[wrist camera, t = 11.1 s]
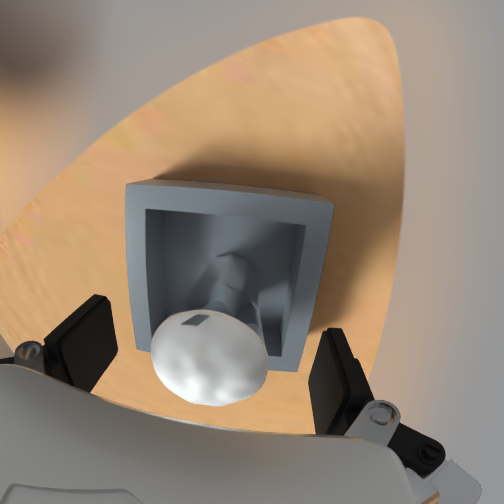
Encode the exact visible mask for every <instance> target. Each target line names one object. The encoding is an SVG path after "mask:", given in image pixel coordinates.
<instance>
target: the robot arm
mask: <svg viewBox="0 0 504 504" xmlns="http://www.w3.org/2000/svg"><path fill="white" fill-rule="evenodd" d="M44 342H45V345H44V346H42V345H41V343H39V342H37V341H26V342H24V343H21V344H20V345H19V346H18V347H17V348H16V350H15V353H14V357H9V358H4V359H0V504H476V503H477V501H478V500H479V498H480V496H481V492H482V488H481V485H480V484H479V482H478V481H477V480H475V479H474V478H473V477H472V476H471V475H469V474H468V473H467V472H466V471H465V470H463V469H462V468H461V467H460V466H458V465H457V464H456V463H455V462H454V461H453V460H449V461H447V460H446V459H445V456H446V455H445V450H444V448H443V446H442V445H441V444H440V443H439V442H437V441H436V440H434V439H432V438H430V437H428V436H425V435H423V434H421V433H419V432H417V431H415V430H413V429H411V428H409V427H407V426H405V425H403V424H401V423H400V418H401V416H400V412H399V410H398V408H397V407H396V406H395V405H393V404H392V403H390V402H388V401H385V400H375V399H374V397H373V394H372V392H371V390H370V387H369V384H368V382H367V379H366V377H365V374H364V372H363V369H362V367H361V364H360V362H359V360H358V359H356V358H354V357H353V354H352V352H351V349H350V347H349V344H348V342H347V339H346V337H345V335H344V332H343V330H342V329H341V328H328V329H327V331H323V332H322V336H321V339H320V343H319V346H318V350H317V353H316V356H315V360H314V363H313V366H312V369H311V373H310V376H309V381H308V385H309V392H310V398H311V404H312V411H313V418H314V425H315V432H316V434H292V433H275V432H262V431H250V430H241V429H233V428H225V427H219V426H212V425H206V424H201V423H195V422H190V421H185V420H180V419H175V418H171V417H167V416H163V415H159V414H155V413H151V412H147V411H143V410H140V409H136V408H133V407H130V406H126V405H123V404H120V403H117V402H114V401H111V400H108V399H105V398H102V397H99V396H97V395H94V394H91V393H90V392H91V391H92V389H93V388H94V386H95V385H96V383H97V382H98V380H99V379H100V377H101V376H102V375H103V373H104V372H105V370H106V369H107V367H108V366H109V365H110V363H111V362H112V360H113V359H114V358H115V356H116V355H117V352H118V346H117V340H116V335H115V329H114V323H113V317H112V310H111V303H110V301H109V300H108V299H107V297H106V296H102V295H97V294H94V295H93V296H92V297H91V298H89V299H88V300H87V301H86V302H85V303H84V304H82V305H81V306H80V307H79V308H78V309H77V310H75V311H74V312H73V313H72V314H71V315H70V316H69V317H67V318H66V319H65V320H64V321H63V322H62V323H61V324H60V325H59V326H57V327H56V328H55V329H54V330H53V331H52V332H51V333H50V334H49V335H48V336H47V337H45V338H44Z"/></svg>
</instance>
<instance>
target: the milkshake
mask: <svg viewBox="0 0 504 504" xmlns="http://www.w3.org/2000/svg"><path fill="white" fill-rule="evenodd" d="M151 357H152V362H153V366H154V369H155V371H156V373H157V375H158V377H159V378H160V380H161V381H162V383H163V384H164V385H165V386H166V387H167V388H168V389H169V390H171V391H172V392H173V393H175V394H176V395H178V396H180V397H181V398H183V399H185V400H186V401H188V402H191V403H195V404H204V405H210V406H224V405H228V404H231V403H234V402H237V401H241V400H244V399H246V398H248V397H250V396H252V395H254V394H255V393H256V392H257V391H258V390H259V389H260V388H261V387H262V385H263V384H264V382H265V379H266V376H267V372H268V365H269V360H268V354H267V349H266V343H265V337H264V331H263V325H262V319H261V312H260V304H259V295H258V285H257V276H256V272H255V270H254V269H253V267H252V266H251V265H250V263H249V262H248V260H247V259H245V258H242V257H239V256H236V255H234V254H227V255H223V256H219V257H215V258H214V259H213V261H212V262H211V263H210V265H209V266H208V267H207V268H206V270H205V271H204V272H203V274H202V275H201V276H200V278H199V279H198V280H197V282H196V283H195V284H194V286H193V287H192V288H191V290H190V291H189V292H188V293H187V294H186V295H185V296H184V298H183V299H182V300H181V301H180V302H179V303H178V304H177V306H176V307H175V308H174V309H173V310H172V312H171V313H170V314H169V315H168V316H167V318H166V319H165V320H164V321H163V323H162V324H161V325H160V326H159V327H158V329H157V330H156V332H155V333H154V335H153V338H152V341H151Z"/></svg>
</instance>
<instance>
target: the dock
mask: <svg viewBox="0 0 504 504" xmlns="http://www.w3.org/2000/svg"><path fill="white" fill-rule="evenodd" d="M333 211H334V204H333V203H332V202H330V201H329V200H327V199H326V198H324V197H322V196H321V195H317V194H310V193H303V192H296V191H288V190H281V189H273V188H264V187H255V186H246V185H236V184H225V183H214V182H201V181H186V180H170V179H148V180H143V181H138V182H133V183H129V184H126V189H125V233H126V257H127V273H128V285H129V296H130V305H131V313H132V321H133V329H134V335H135V342H136V348H137V350H142V351H146V352H151V341H152V338H153V335H154V333H155V332H156V330H157V329H158V327H159V326H160V325H161V324H162V323H163V321H164V320H165V319H166V318H167V316H168V315H169V314H170V313H171V312H172V310H173V309H174V308H175V307H176V306H177V304H178V303H179V302H180V301H181V300H182V299H183V298H184V296H185V295H186V294H187V293H188V292H189V291H190V290H191V288H192V287H193V286H194V284H195V283H196V282H197V280H198V279H199V278H200V276H201V275H202V274H203V272H204V271H205V270H206V268H207V267H208V266H209V265H210V263H211V262H212V261H213V259H214V258H215V257H219V256H223V255H227V254H234V255H236V256H239V257H242V258H245V259H247V260H248V262H249V263H250V265H251V266H252V267H253V269H254V270H255V272H256V276H257V285H258V295H259V304H260V312H261V319H262V325H263V331H264V337H265V343H266V349H267V354H268V360H269V365H268V370H273V371H288V372H297V371H298V367H299V364H300V360H301V357H302V353H303V349H304V346H305V342H306V338H307V334H308V330H309V326H310V322H311V318H312V314H313V310H314V306H315V301H316V297H317V293H318V288H319V284H320V279H321V274H322V270H323V265H324V260H325V255H326V250H327V245H328V239H329V234H330V228H331V222H332V217H333Z"/></svg>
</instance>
